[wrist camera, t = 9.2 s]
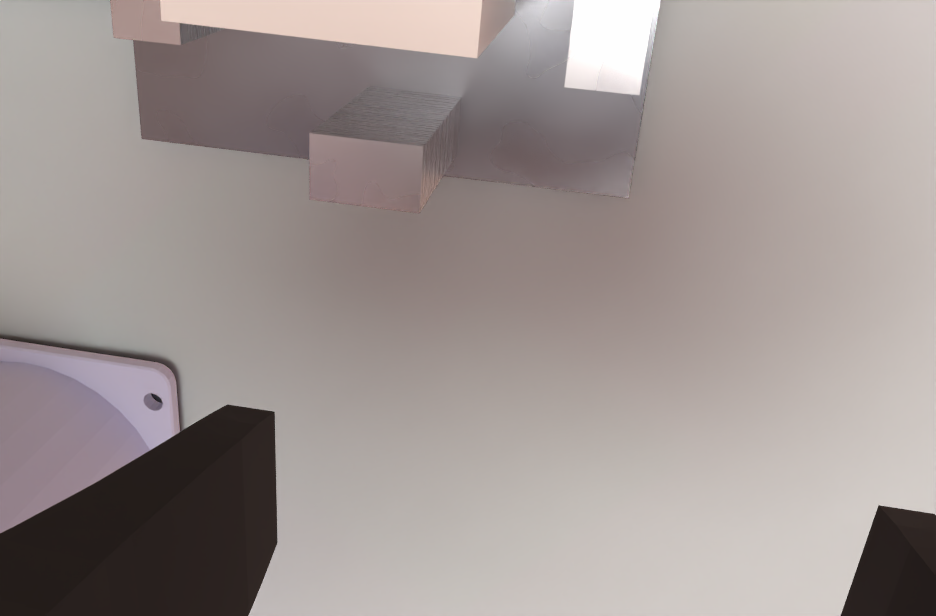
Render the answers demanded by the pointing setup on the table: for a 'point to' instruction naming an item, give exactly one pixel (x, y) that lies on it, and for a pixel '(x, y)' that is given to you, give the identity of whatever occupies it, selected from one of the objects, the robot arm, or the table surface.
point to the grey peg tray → (409, 101)
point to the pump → (358, 21)
